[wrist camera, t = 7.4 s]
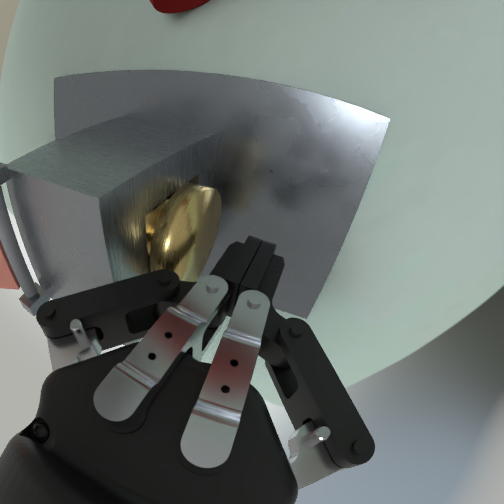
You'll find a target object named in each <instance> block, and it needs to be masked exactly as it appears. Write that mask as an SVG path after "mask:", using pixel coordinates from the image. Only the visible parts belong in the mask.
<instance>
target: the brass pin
mask: <svg viewBox="0 0 504 504" xmlns="http://www.w3.org/2000/svg"><path fill="white" fill-rule="evenodd" d="M220 218H221V197H220V194H219V192H218V190H216V189H214V188H211V187H207V186H203V185H200V184H196V183H192V182H191V183H187V184H184V185H183V186H181V187H180V188H179V189H178V190H177V191H176V192H175V193H174V194H173V195H172V196H171V198H170V199H164V200H163V201H162V202H160V203H159V204H158V205H157V206H155V207H154V208H153V209H152V210H150V211H149V212H148V213H147V214H145V223H146V239H147V251H148V255H149V256H150V270H151V272H153V271H156V270H160V269H169V270H172V271H174V272H175V273H177V275H178V276H179V279H180V281H189V282H196V281H197V280H198V278H199V277H200V275H201V273H202V271H203V270H204V268H205V266H206V264H207V261H208V259H209V257H210V254H211V252H212V249H213V246H214V243H215V240H216V236H217V233H218V229H219V224H220Z"/></svg>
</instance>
